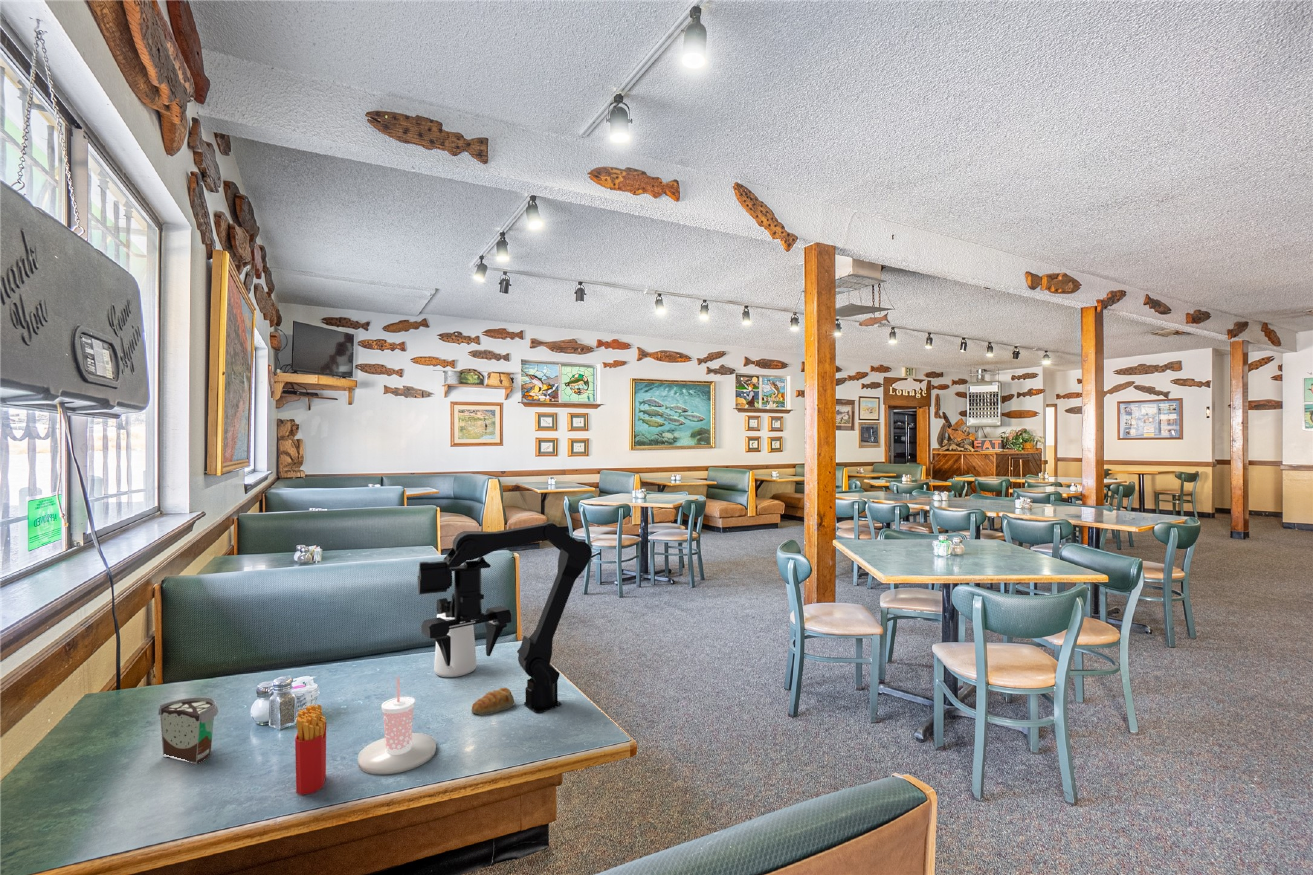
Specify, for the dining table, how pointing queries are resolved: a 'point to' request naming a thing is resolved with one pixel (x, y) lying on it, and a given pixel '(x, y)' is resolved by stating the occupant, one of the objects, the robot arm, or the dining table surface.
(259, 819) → the dining table surface
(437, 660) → the coffeepot
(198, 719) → the food container
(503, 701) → the pastry
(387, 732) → the beverage cup
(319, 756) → the french fries
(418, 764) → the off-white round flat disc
